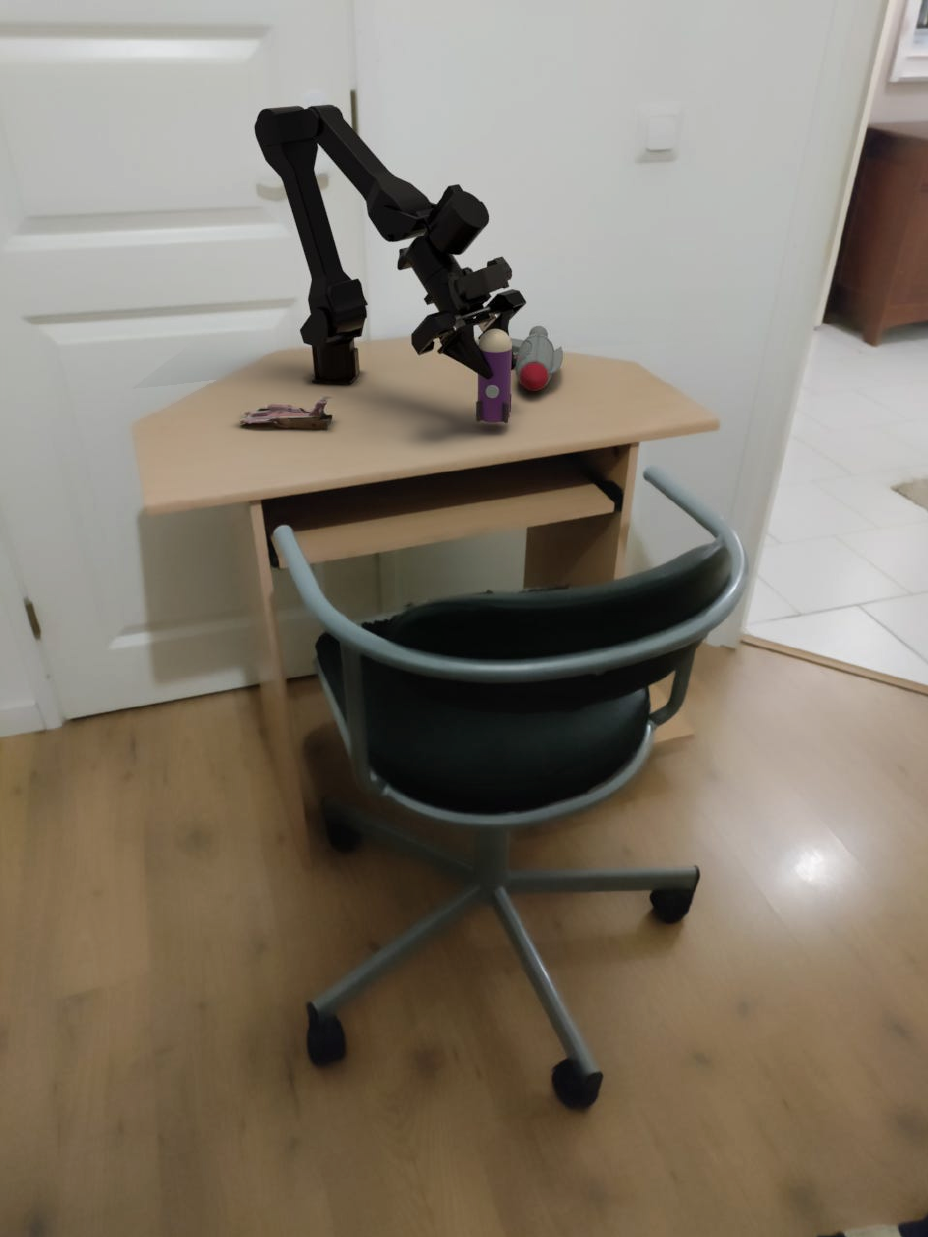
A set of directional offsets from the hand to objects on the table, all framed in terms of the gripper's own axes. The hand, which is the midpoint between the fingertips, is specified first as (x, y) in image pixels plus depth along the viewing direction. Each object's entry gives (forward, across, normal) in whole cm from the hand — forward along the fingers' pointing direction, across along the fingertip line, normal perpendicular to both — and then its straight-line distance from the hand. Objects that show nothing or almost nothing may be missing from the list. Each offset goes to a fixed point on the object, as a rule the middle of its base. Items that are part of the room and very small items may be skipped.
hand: (502, 373), depth 124 cm
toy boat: (-12, -18, +24) cm, 32 cm away
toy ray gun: (-3, +21, +16) cm, 26 cm away
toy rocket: (+4, 0, +6) cm, 7 cm away
